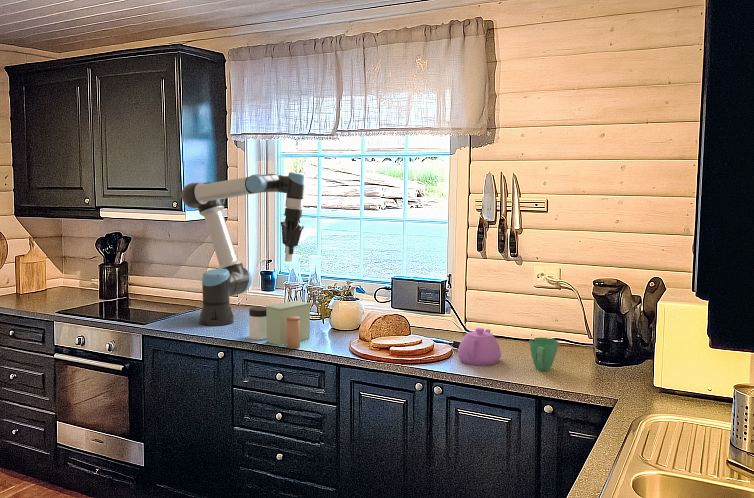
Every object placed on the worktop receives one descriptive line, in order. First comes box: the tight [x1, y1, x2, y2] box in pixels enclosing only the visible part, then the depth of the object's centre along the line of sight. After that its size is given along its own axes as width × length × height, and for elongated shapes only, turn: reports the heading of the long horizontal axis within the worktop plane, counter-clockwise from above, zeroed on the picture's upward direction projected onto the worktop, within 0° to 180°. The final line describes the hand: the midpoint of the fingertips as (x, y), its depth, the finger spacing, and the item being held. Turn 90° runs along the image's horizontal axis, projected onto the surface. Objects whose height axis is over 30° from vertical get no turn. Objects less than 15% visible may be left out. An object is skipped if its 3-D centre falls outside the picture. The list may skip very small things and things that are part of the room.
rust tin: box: [286, 316, 301, 350], centre depth 268 cm, size 5×5×12 cm
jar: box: [248, 306, 267, 341], centre depth 283 cm, size 9×8×12 cm
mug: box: [529, 337, 559, 371], centre depth 240 cm, size 15×10×10 cm
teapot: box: [457, 327, 502, 367], centre depth 252 cm, size 22×16×12 cm
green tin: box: [265, 300, 311, 346], centre depth 279 cm, size 8×16×15 cm, turn 139°
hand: (288, 261), depth 306 cm, fingers closed
